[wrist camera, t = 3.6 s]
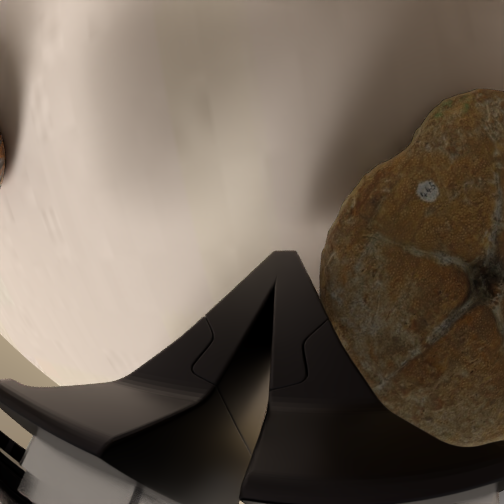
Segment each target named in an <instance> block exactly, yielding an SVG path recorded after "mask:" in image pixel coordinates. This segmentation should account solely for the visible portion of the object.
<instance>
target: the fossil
mask: <svg viewBox="0 0 504 504" xmlns="http://www.w3.org/2000/svg"><path fill="white" fill-rule="evenodd" d="M320 300H321V302H322V304H323V306H324V308H325V311H326V313H327V315H328V317H329V319H330V321H331V323H332V325H333V327H334V329H335V331H336V333H337V335H338V337H339V339H340V341H341V343H342V345H343V346H344V348H345V349H346V351H347V353H348V354H349V356H350V357H351V359H352V360H353V362H354V363H355V365H356V366H357V368H358V369H359V371H360V372H361V374H362V375H363V377H364V378H365V380H366V381H367V383H368V384H369V386H370V387H371V389H372V390H373V392H374V393H375V394H376V396H377V397H378V399H379V400H380V401H381V402H382V403H383V405H384V406H385V407H386V408H388V409H389V410H390V411H391V412H393V413H394V414H396V415H398V416H399V417H401V418H403V419H404V420H406V421H408V422H410V423H411V424H413V425H415V426H417V427H418V428H420V429H422V430H424V431H425V432H427V433H429V434H431V435H432V436H434V437H436V438H438V439H440V440H442V441H444V442H446V443H448V444H451V445H456V446H462V447H473V446H479V445H483V444H487V443H491V442H495V441H500V440H504V91H497V90H490V89H474V90H473V91H471V92H467V93H463V94H459V95H456V96H453V97H451V98H448V99H445V100H443V101H442V102H441V104H440V105H438V106H437V107H435V108H434V109H433V110H432V111H431V112H430V113H429V115H428V116H427V117H426V119H425V120H424V122H423V123H422V125H421V127H419V128H418V129H416V131H415V133H414V136H413V139H412V143H411V144H410V145H409V146H408V147H407V148H406V149H405V150H403V151H402V152H401V153H399V154H398V155H396V156H395V157H393V158H392V159H390V160H388V161H386V162H383V163H381V164H378V165H377V166H376V167H375V168H374V169H372V170H371V171H370V172H369V173H367V174H365V175H364V176H363V178H362V179H361V181H360V182H359V184H358V185H357V186H356V187H355V188H354V190H353V192H352V193H351V194H350V195H349V196H348V197H347V199H346V200H345V201H344V202H343V204H342V206H341V209H340V211H339V214H338V216H337V219H336V220H335V222H334V223H333V225H332V227H331V228H330V230H329V231H328V235H327V240H326V244H325V248H324V249H323V251H322V255H321V265H320Z"/></svg>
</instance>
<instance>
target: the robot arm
mask: <svg viewBox="0 0 504 504" xmlns="http://www.w3.org/2000/svg"><path fill="white" fill-rule="evenodd" d="M267 404H268V406H267ZM0 408H1V409H2V410H3V411H4V412H5V413H7V414H8V415H9V416H10V417H11V418H12V419H14V420H15V421H16V422H17V423H18V424H20V425H21V426H22V427H23V428H25V429H26V430H27V431H28V432H30V433H31V434H32V435H33V437H32V439H31V441H30V443H29V445H28V447H27V449H26V450H25V449H24V448H23V447H21V446H20V445H18V444H17V443H16V442H14V441H13V440H12V439H10V438H9V437H8V436H7V435H5V434H4V433H3V432H1V431H0V504H239V501H242V502H243V503H244V504H499V492H501V491H503V490H504V440H500V441H495V442H491V443H487V444H483V445H479V446H473V447H462V446H456V445H451V444H448V443H446V442H444V441H442V440H440V439H438V438H436V437H434V436H432V435H431V434H429V433H427V432H425V431H424V430H422V429H420V428H418V427H417V426H415V425H413V424H411V423H410V422H408V421H406V420H404V419H403V418H401V417H399V416H398V415H396V414H394V413H393V412H391V411H390V410H389V409H388V408H386V407H385V406H384V405H383V403H382V402H381V401H380V400H379V399H378V397H377V396H376V394H375V393H374V392H373V390H372V389H371V387H370V386H369V384H368V383H367V381H366V380H365V378H364V377H363V375H362V374H361V372H360V371H359V369H358V368H357V366H356V365H355V363H354V362H353V360H352V359H351V357H350V356H349V354H348V353H347V351H346V349H345V348H344V346H343V345H342V343H341V341H340V339H339V337H338V335H337V333H336V331H335V329H334V327H333V325H332V323H331V321H330V319H329V317H328V315H327V313H326V311H325V308H324V306H323V304H322V302H321V300H320V298H319V296H318V294H317V292H316V290H315V288H314V286H313V283H312V281H311V279H310V277H309V275H308V273H307V271H306V269H305V267H304V265H303V263H302V261H301V259H300V257H299V255H298V253H297V252H296V251H274V252H272V253H271V254H270V255H269V256H268V257H267V258H266V259H265V260H264V261H263V262H262V263H261V264H260V265H259V266H257V267H256V268H255V269H254V270H253V271H252V272H251V273H250V274H249V275H248V276H247V277H246V278H245V279H244V280H242V281H241V282H240V283H239V284H238V285H237V286H236V287H235V288H234V289H233V290H232V291H231V292H230V293H228V294H227V295H226V296H225V297H224V298H223V299H222V300H221V301H220V302H219V303H218V304H217V305H216V306H214V307H213V308H212V309H211V310H210V311H209V312H208V313H207V314H206V315H205V317H202V318H201V319H200V320H199V321H198V322H197V323H196V324H195V325H194V326H192V327H191V328H190V329H189V330H188V331H187V332H186V333H184V334H183V335H182V336H181V337H180V338H178V339H177V340H176V341H174V342H173V343H172V344H171V345H169V346H168V347H167V348H165V349H164V350H163V351H161V352H160V353H158V354H157V355H156V356H154V357H153V358H152V359H150V360H149V361H147V362H146V363H145V364H143V365H142V366H141V367H139V368H138V369H136V370H135V371H134V372H132V373H131V374H129V375H127V376H125V377H124V378H121V379H119V380H116V381H112V382H107V383H97V384H86V385H73V386H59V387H31V386H26V385H23V384H21V383H19V382H17V381H15V380H13V379H1V380H0ZM266 408H267V413H266V416H265V412H266ZM264 416H265V419H264ZM263 419H264V422H263ZM262 423H263V425H262ZM261 427H262V428H261ZM260 430H261V431H260Z"/></svg>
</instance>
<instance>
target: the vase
mask: <svg viewBox="0 0 504 504" xmlns="http://www.w3.org/2000/svg"><path fill="white" fill-rule="evenodd" d="M4 170H5V149H4V144H3V140H2V136H1V133H0V188H1V184H2V180H3V175H4Z"/></svg>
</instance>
